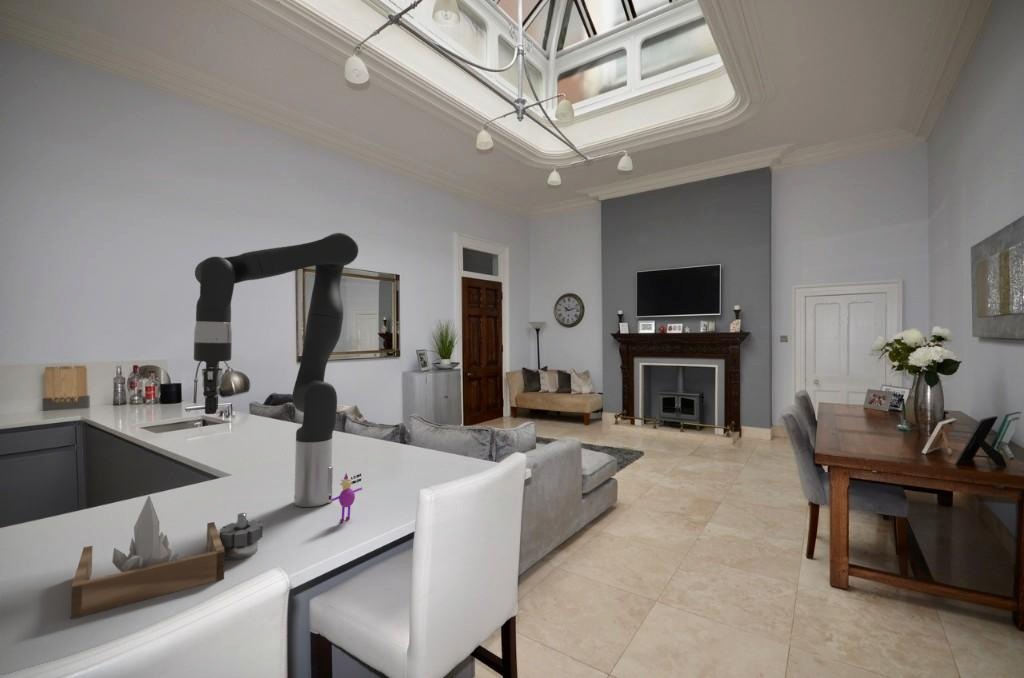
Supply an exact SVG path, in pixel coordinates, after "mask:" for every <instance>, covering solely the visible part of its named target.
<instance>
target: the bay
mask: <svg viewBox="0 0 1024 678" xmlns="http://www.w3.org/2000/svg"><path fill="white" fill-rule="evenodd" d="M206 525H207V526H206V527H207V529H206V548H207V549H206V550H207V552H206V553H205V552H204V553H201V554H197V555H193V556H188V557H184V558H179V560H174V561H170V562H166V563H161V564H157V565H153V566H148V567H144V568H140V569H135V570H131V571H126V572H119V573H115V574H110V575H106V576H101V577H97V578H92V579H91V577H92V573H93V545H89V546H84V547H83V549H82V552H81V555H80V559H79V562H78V565H77V569H76V572H75V575H74V578H73V581H72V585H71V593H70V595H71V598H70V600H71V601H70V620H73V619H76V618H80V617H84V616H88V615H91V614H95V613H100V612H103V611H107V610H111V609H115V608H117V607H118V608H119V607H121V606H126V605H130V604H134V603H137V602H142V601H144V600H149V599H152V598H156V597H160V596H164V595H167V594H171V593H175V592H179V591H183V590H187V589H190V588H193V587H198V586H201V585H205V584H209V583H213V582H217V581H221V580H224V578H225V558H224V556H225V551H224V546H222V543H221V540H220V533H219V532H218V529H217V526H216V524H215V522H214V521H212V522H208V523H207V524H206Z"/></svg>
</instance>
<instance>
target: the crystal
mask: <svg viewBox="0 0 1024 678" xmlns="http://www.w3.org/2000/svg"><path fill="white" fill-rule="evenodd" d="M133 535H134V536H133V537H134V538H133V537H131V541H130V545H129V549H128V551H129V554H128V555H126V554H125V553H124V552H122V551H120V550H119V549H117V548H116V547H113V553H112V563H113V565H114V566H115V567H116V569H117V570H119V571H120V573H122V572H126V571H131V570H135V569H140V568H144V567H148V566H153V565H157V564H161V563H166V562H170V561H174V560H179V559H180V557H179V554H178V553H177V552H176V553H175V554H174V555H172V549H171V548H170V547H169V545H170V544H169V543H170V542H169V539H168V536H167V534H164V532H163V531H161V532H160V520H159V517H158V514H157V512H156V509H155V507H154V504H153V501H152V498H151V495H148V496H147V499H146V500H145V502H144V505H143V507H142V508H141V512H140V513H139V516H138V517H137V520H136V522H135V524H134V527H133Z"/></svg>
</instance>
